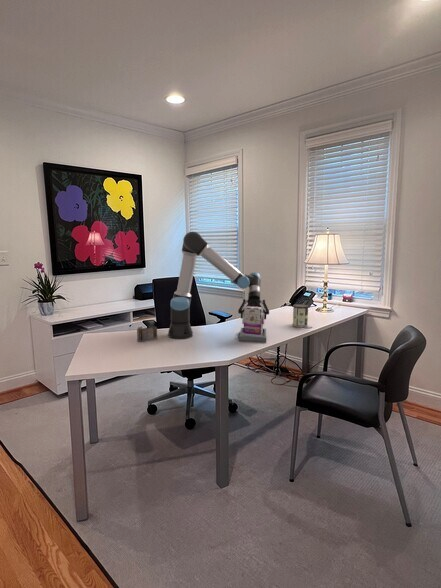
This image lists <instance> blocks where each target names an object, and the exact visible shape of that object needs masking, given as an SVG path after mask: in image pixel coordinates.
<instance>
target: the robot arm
mask: <svg viewBox="0 0 441 588" xmlns="http://www.w3.org/2000/svg"><path fill="white" fill-rule="evenodd" d="M181 253H182V261H181V265H180V271H179V276H178V282H177V287H176V288H177V289H176V290H175V291H174V293H173V296H172V298H171V300H170V304H169V306H170V326H169V328H168V333H167V336H168V337H169V338H171V339H175V340H176V339H177V340H181V339H182V340H183V339H189V338H191V337H193V335H194V334H193V328H192V326H191V322H190V317H191V316H190V314H191V313H190V312H191V311H190V310H191V309H190V308H191V307H190V306H191V301H192V298H193V297H192V296H193V295H192V294H191V290H192V284H193V278H194V275H195V274H194V272H195V267H196V263H197V257H202V258H203V259H204V260H206V261H207V262H208V263H210V264H211V266H212V267H214V268H215V269H216V270H218V271H219V272H221V273H222V274H223V275H224V276H226V277H227V278H228V279H229V280H230V283H231V284H233V285H237V286H238V287H239V288H240V289H243V290H245V289H247V288H248V295H247V296H248V297H247V299H242V303H241V305H240V307H239V308H238V310H237V312H238V314H239V315H240V319H242V320H241V321H242V325H244V307H245V304H247V305H246V306H252V307H263V326H264V325H265V320H267V315H268V316H269V315H270V310H269V308H268V306H267V304H266V299H263V300H261V280H262V279H261V274H260V273H259V272H251V273H250V274H246V273H242V272H241V271H240V270H238V268H236V267H235V266H234V265H233V264H232V263H230V262H229V261H227V259H225V257H223V256H222V255H220V254H219V253H218V251H215V250H214V249H213V248H211V247H210V245H209V243H208V242H207V241H206V240H205V239H204V238H203V237H202V236H201V234H200V233H199V232H196V231H188V232H187V233H186V234H185V235H184V237H183V242H182V249H181Z"/></svg>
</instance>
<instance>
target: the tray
mask: <svg viewBox="0 0 441 588" xmlns="http://www.w3.org/2000/svg"><path fill="white" fill-rule="evenodd" d="M238 341H239V342H245V343H246V342H249V343H250V342H251V343H267V328H263V333H262V334H261V335H255V334H247V333H244V327H240V331H239V335H238Z"/></svg>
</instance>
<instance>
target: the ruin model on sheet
mask: <svg viewBox="0 0 441 588" xmlns="http://www.w3.org/2000/svg"><path fill="white" fill-rule="evenodd" d="M136 334H137V335H136V336H137V338H136V339H137V342H138V343H139V342H141V341H142V342H150V341H155V340H158V327H157V326H152V327H144V328H143V326H138V327H137V329H136Z"/></svg>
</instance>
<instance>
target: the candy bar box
mask: <svg viewBox="0 0 441 588" xmlns="http://www.w3.org/2000/svg"><path fill="white" fill-rule="evenodd" d="M243 309H244V324H243V328H244V333H247V334H255V335H261V334H262V333H263V329H264V325H263V309H264V306H262V307H252V306H247V305H246V306H244V307H243Z"/></svg>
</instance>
